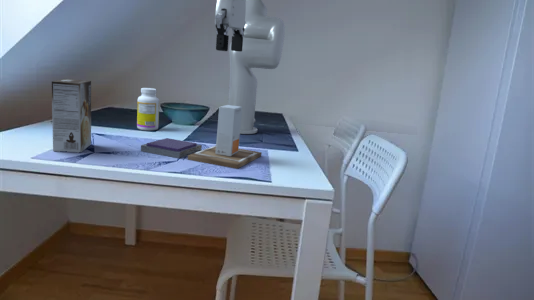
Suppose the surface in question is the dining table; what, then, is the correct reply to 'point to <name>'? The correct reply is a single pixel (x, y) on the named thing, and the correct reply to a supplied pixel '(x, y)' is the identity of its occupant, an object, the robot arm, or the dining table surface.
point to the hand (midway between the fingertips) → (229, 50)
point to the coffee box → (71, 115)
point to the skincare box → (228, 130)
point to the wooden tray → (225, 157)
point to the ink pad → (171, 148)
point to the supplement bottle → (148, 110)
